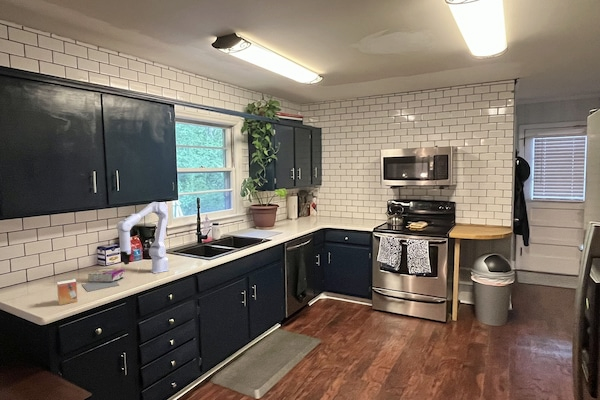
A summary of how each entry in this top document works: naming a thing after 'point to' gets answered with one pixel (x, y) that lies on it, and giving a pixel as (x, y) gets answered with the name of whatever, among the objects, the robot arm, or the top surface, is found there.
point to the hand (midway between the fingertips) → (126, 264)
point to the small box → (67, 292)
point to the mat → (99, 285)
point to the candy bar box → (106, 275)
